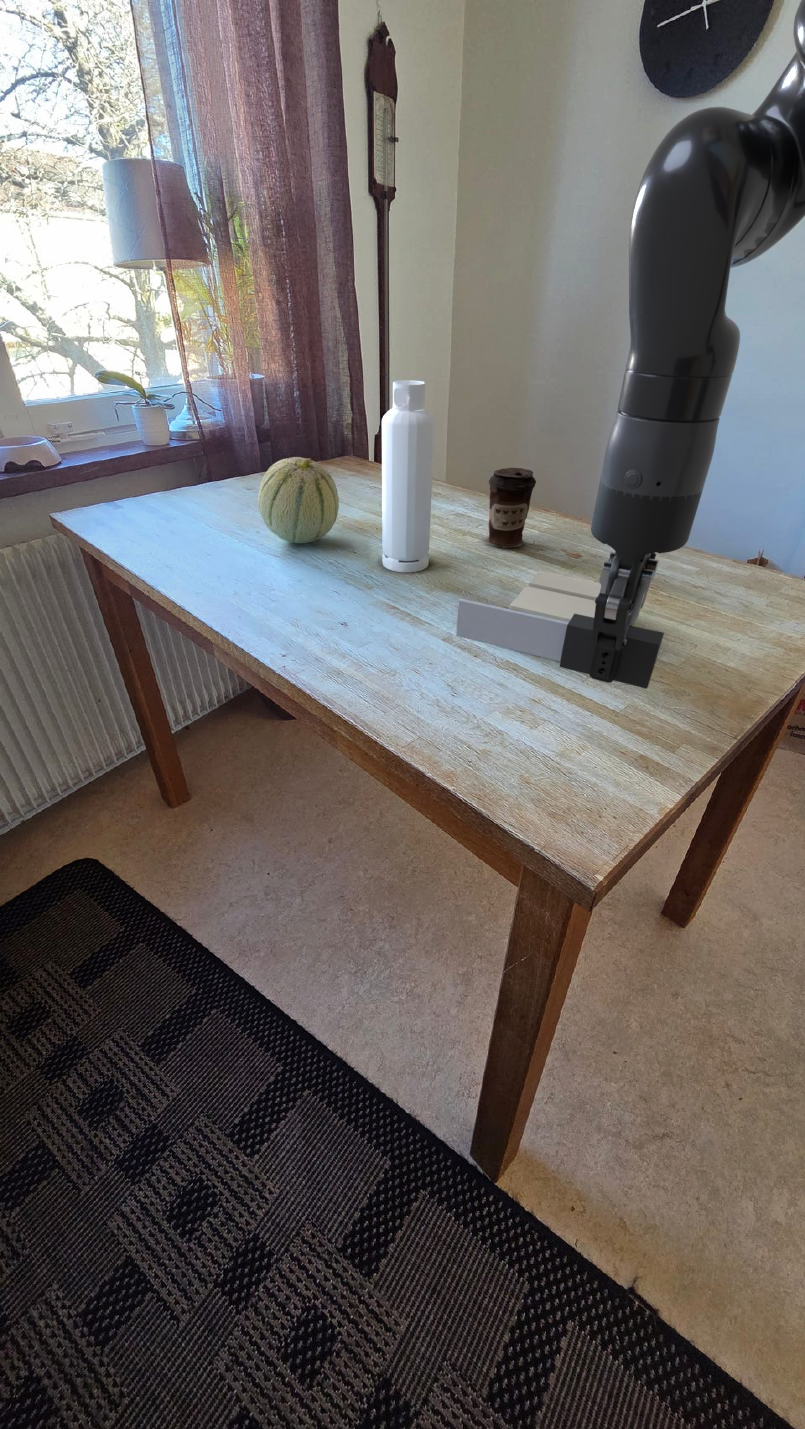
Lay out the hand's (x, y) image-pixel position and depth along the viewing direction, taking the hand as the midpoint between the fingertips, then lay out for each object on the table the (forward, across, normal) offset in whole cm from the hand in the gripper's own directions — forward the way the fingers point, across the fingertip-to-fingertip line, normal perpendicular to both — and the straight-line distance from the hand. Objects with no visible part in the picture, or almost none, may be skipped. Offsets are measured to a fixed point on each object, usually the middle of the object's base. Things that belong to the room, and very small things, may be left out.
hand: (605, 670), depth 56 cm
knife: (0, 0, +5) cm, 5 cm away
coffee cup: (+11, +57, +29) cm, 65 cm away
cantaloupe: (+11, +39, +63) cm, 75 cm away
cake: (+11, +24, +10) cm, 28 cm away
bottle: (+11, +39, +41) cm, 57 cm away
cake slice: (+11, +31, +10) cm, 34 cm away
